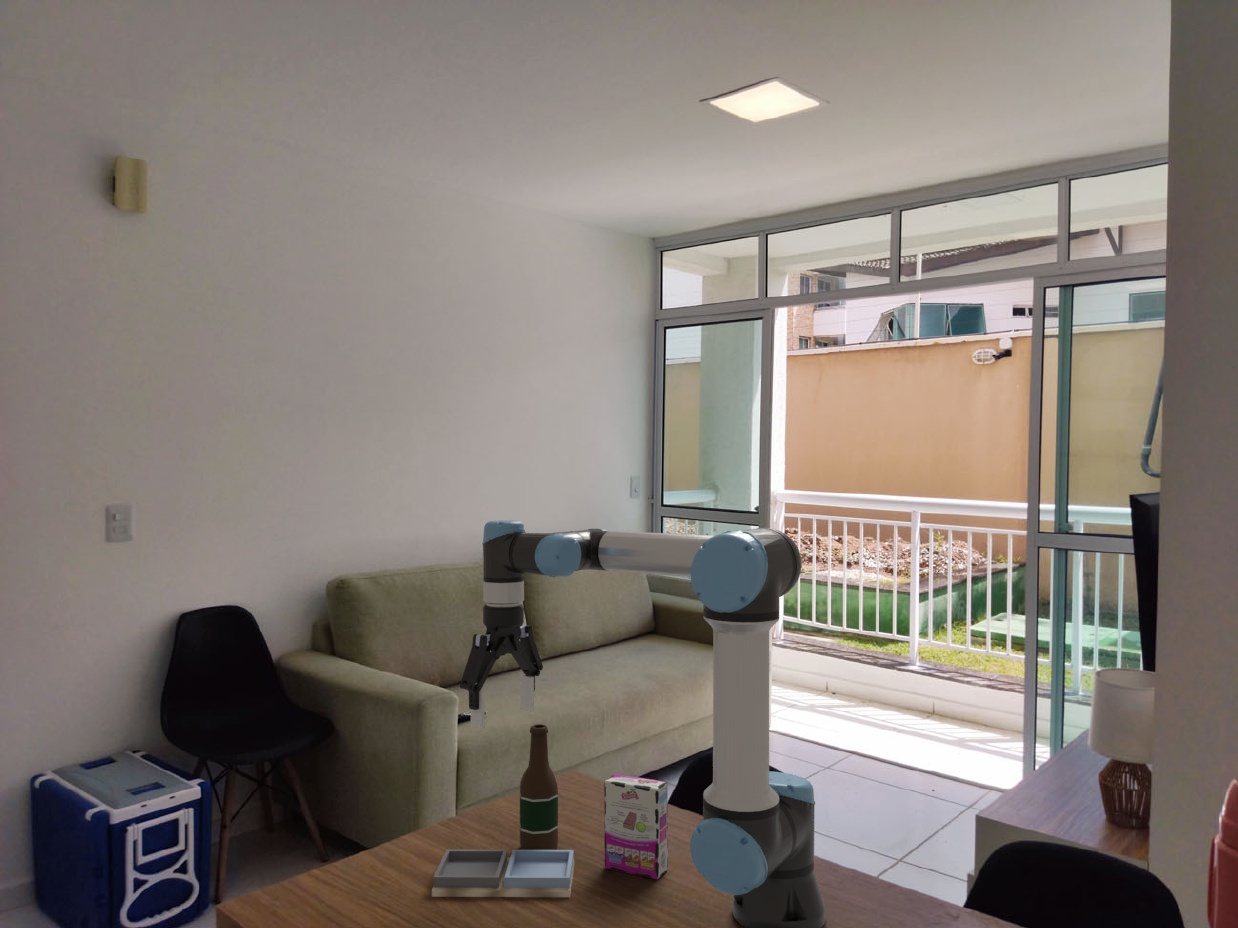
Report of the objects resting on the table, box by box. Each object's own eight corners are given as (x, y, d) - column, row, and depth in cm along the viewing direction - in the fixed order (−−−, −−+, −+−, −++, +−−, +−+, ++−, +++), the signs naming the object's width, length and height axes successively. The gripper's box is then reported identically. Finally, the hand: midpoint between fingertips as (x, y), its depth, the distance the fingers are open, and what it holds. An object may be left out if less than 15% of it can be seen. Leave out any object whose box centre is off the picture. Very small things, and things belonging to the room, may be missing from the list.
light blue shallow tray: (573, 859, 166) (573, 849, 166) (569, 887, 154) (569, 877, 154) (512, 859, 166) (512, 849, 166) (504, 887, 154) (504, 877, 154)
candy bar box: (669, 869, 164) (669, 780, 164) (658, 880, 160) (658, 789, 160) (615, 857, 169) (615, 771, 169) (603, 868, 164) (603, 780, 165)
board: (574, 863, 166) (574, 857, 166) (569, 897, 153) (569, 890, 153) (446, 863, 166) (446, 856, 166) (431, 896, 153) (431, 889, 153)
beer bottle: (552, 859, 168) (552, 732, 169) (513, 855, 170) (513, 730, 170) (563, 842, 176) (563, 721, 176) (525, 839, 178) (525, 719, 178)
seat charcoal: (507, 859, 166) (507, 849, 166) (498, 887, 154) (498, 877, 154) (446, 858, 166) (446, 849, 166) (433, 887, 154) (433, 876, 154)
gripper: (531, 594, 177) (531, 700, 177) (439, 610, 156) (439, 730, 156) (561, 597, 173) (560, 706, 172) (470, 614, 152) (470, 738, 152)
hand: (503, 718), depth 164 cm, fingers open, 13 cm apart
